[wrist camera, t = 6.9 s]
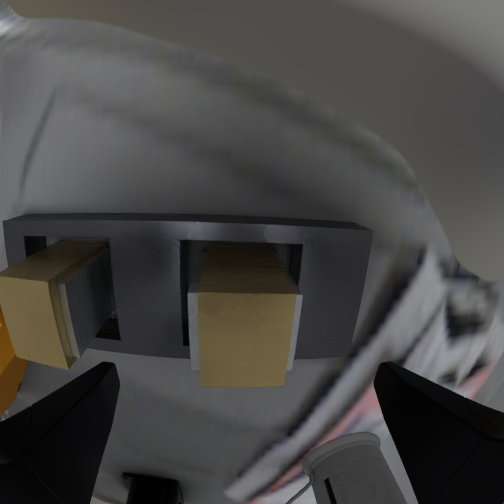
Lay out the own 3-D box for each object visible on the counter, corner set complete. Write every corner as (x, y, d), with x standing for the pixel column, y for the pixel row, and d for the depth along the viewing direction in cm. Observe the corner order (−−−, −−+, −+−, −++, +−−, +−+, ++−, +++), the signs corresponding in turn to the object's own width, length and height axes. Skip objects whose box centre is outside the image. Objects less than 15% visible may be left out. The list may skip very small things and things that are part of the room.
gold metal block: (271, 315, 19) (294, 386, 12) (201, 313, 18) (190, 386, 11) (277, 246, 17) (308, 293, 11) (201, 244, 17) (185, 291, 10)
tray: (335, 336, 19) (348, 355, 17) (40, 319, 17) (24, 335, 15) (354, 222, 17) (372, 230, 15) (24, 214, 15) (2, 221, 13)
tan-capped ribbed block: (119, 308, 18) (76, 371, 11) (64, 302, 17) (11, 355, 11) (113, 241, 16) (55, 282, 10) (55, 239, 16) (-12, 274, 9)
